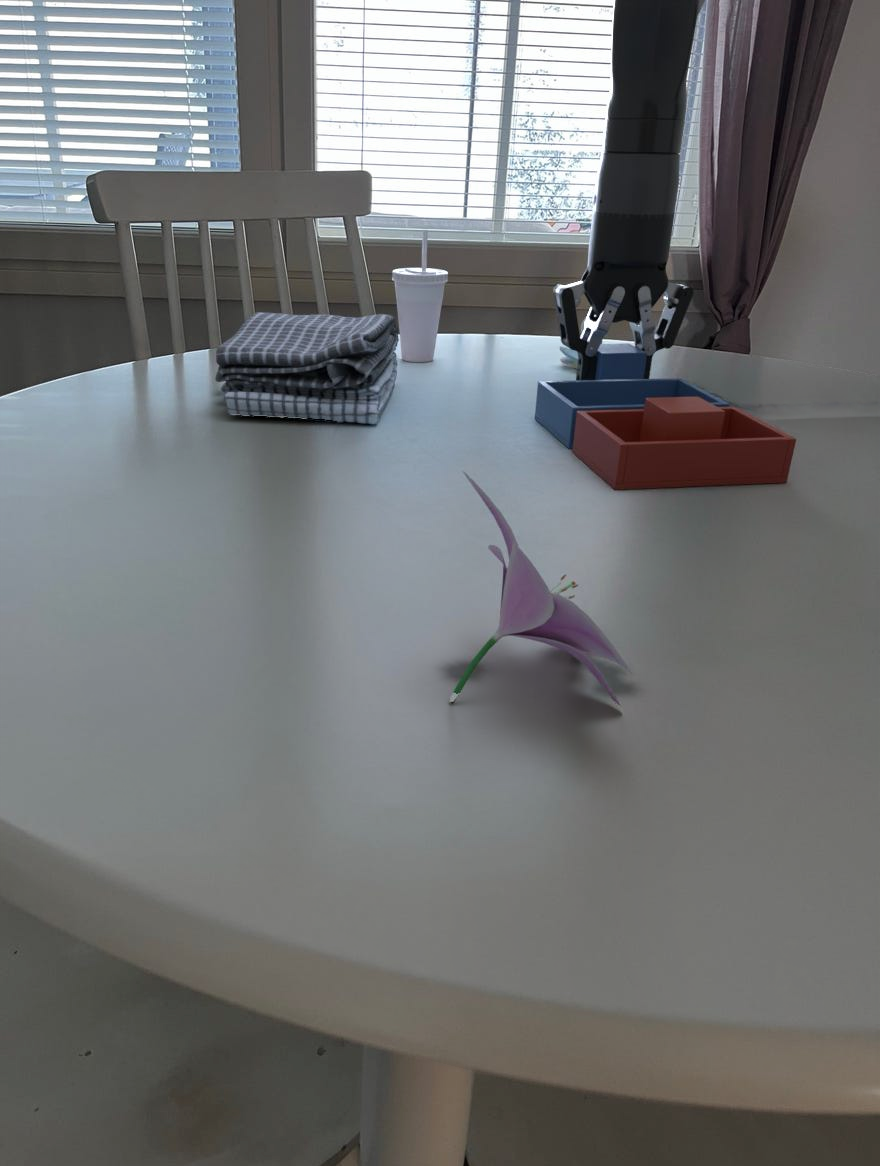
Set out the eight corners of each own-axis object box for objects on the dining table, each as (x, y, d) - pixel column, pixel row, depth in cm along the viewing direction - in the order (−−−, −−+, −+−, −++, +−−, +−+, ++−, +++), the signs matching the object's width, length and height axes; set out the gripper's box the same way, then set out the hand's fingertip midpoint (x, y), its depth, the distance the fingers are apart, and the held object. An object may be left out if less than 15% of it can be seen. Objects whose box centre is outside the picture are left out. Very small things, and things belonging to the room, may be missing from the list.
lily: (601, 818, 38) (725, 612, 36) (346, 682, 38) (456, 470, 36) (576, 736, 50) (669, 577, 48) (381, 633, 50) (465, 470, 48)
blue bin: (675, 414, 90) (681, 378, 89) (722, 443, 82) (730, 403, 80) (534, 418, 88) (537, 381, 86) (568, 448, 80) (572, 407, 78)
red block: (689, 451, 78) (698, 396, 76) (714, 468, 74) (725, 411, 72) (637, 453, 77) (645, 397, 75) (660, 470, 73) (669, 412, 71)
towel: (401, 382, 100) (402, 305, 96) (376, 429, 84) (377, 338, 80) (261, 375, 101) (258, 299, 97) (211, 420, 85) (204, 330, 81)
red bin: (727, 446, 81) (735, 406, 80) (786, 482, 73) (796, 438, 71) (571, 452, 79) (576, 410, 77) (614, 490, 71) (620, 444, 69)
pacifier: (553, 362, 111) (560, 371, 105) (559, 306, 108) (565, 313, 103) (615, 363, 111) (625, 373, 105) (622, 308, 108) (632, 315, 103)
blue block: (623, 388, 98) (629, 343, 96) (640, 399, 94) (647, 352, 92) (581, 389, 97) (586, 344, 95) (597, 400, 93) (602, 353, 91)
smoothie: (419, 367, 106) (424, 233, 99) (379, 358, 110) (380, 228, 103) (455, 359, 110) (462, 230, 104) (415, 350, 114) (418, 225, 107)
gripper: (574, 210, 83) (555, 403, 91) (724, 211, 85) (693, 399, 93) (547, 204, 89) (532, 385, 97) (687, 205, 92) (661, 381, 100)
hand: (611, 390), depth 95 cm, fingers closed on blue block, 4 cm apart
